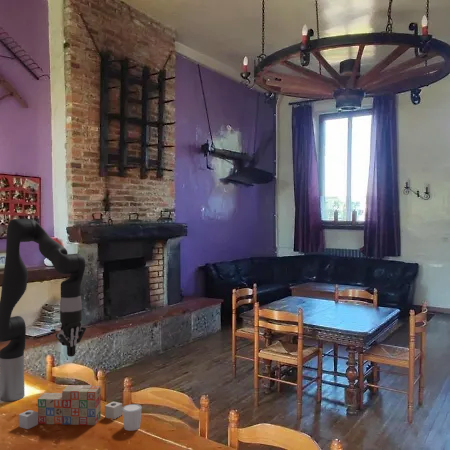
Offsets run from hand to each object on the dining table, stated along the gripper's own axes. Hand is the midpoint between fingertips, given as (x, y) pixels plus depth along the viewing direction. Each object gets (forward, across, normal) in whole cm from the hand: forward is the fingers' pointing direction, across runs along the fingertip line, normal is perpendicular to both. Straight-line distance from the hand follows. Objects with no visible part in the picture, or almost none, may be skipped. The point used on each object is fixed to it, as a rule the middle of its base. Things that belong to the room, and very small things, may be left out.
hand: (71, 355), depth 172 cm
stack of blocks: (+24, 0, -1) cm, 24 cm away
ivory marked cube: (+24, -10, +11) cm, 28 cm away
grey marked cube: (+24, +10, -11) cm, 28 cm away
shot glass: (+24, -6, +23) cm, 34 cm away
